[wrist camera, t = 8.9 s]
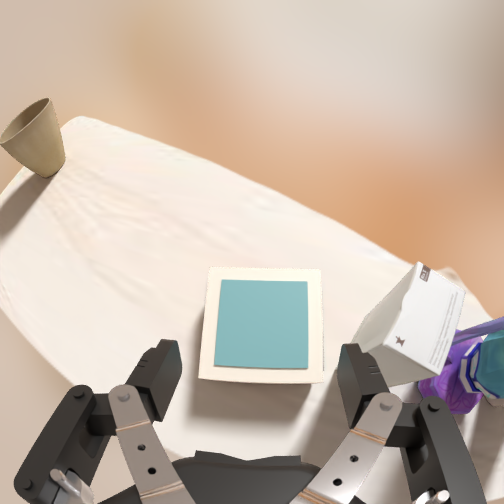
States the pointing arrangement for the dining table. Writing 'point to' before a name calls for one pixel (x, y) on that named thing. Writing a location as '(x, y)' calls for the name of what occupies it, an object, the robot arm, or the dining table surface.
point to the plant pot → (36, 139)
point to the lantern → (470, 368)
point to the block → (263, 326)
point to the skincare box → (412, 327)
